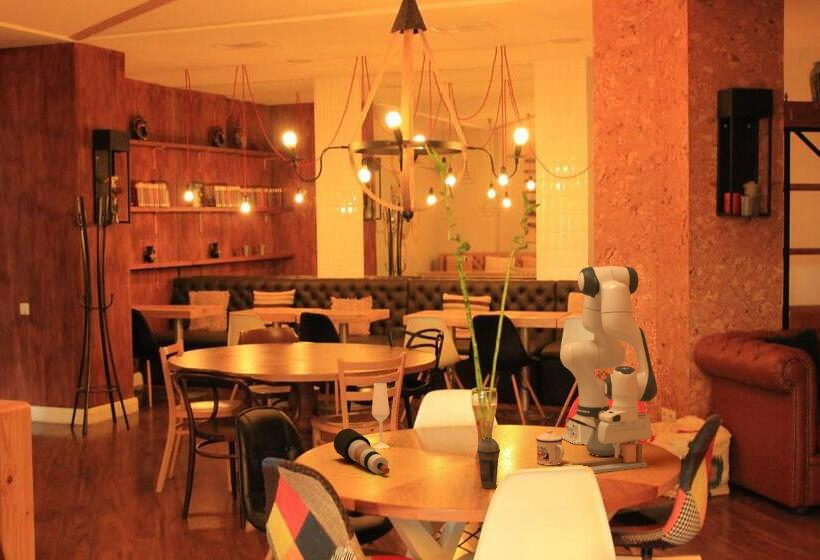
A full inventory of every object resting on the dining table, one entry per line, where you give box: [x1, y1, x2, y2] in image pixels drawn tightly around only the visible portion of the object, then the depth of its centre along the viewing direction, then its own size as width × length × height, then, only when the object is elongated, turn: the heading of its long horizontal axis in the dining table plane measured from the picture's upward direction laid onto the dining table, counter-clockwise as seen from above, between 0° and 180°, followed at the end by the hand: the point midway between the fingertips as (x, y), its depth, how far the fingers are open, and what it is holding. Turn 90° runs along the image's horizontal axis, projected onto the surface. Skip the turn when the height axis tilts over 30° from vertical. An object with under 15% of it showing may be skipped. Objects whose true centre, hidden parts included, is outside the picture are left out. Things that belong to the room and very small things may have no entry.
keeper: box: [614, 442, 636, 463], centre depth 360 cm, size 7×4×6 cm, turn 25°
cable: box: [333, 428, 391, 475], centre depth 362 cm, size 10×34×10 cm, turn 27°
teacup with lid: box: [535, 429, 565, 466], centre depth 363 cm, size 12×9×12 cm
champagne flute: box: [371, 382, 391, 450], centre depth 395 cm, size 7×7×24 cm
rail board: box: [562, 441, 648, 474], centre depth 356 cm, size 12×26×7 cm, turn 115°
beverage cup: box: [476, 424, 501, 490], centre depth 331 cm, size 7×7×20 cm
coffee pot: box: [564, 417, 615, 457], centre depth 374 cm, size 21×12×15 cm, turn 117°
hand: (625, 454), depth 360 cm, fingers closed on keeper, 4 cm apart
